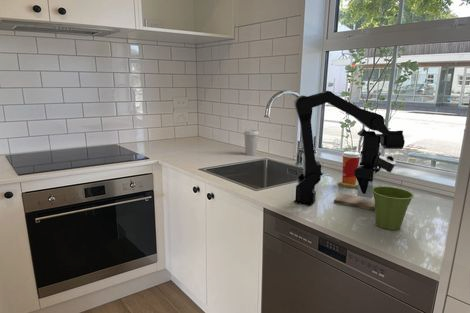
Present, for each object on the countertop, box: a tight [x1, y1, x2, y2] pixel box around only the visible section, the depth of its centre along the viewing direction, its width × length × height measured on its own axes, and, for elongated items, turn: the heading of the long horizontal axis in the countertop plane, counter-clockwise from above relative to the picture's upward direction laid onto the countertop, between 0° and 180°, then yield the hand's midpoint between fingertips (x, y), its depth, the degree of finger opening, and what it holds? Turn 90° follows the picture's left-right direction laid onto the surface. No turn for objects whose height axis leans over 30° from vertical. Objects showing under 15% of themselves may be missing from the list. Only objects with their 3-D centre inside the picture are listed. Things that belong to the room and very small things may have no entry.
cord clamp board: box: [333, 182, 380, 212], centre depth 123 cm, size 18×9×8 cm, turn 58°
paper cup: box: [341, 151, 362, 185], centre depth 147 cm, size 8×8×14 cm
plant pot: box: [372, 185, 415, 231], centre depth 104 cm, size 12×12×11 cm
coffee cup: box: [243, 129, 260, 156], centre depth 206 cm, size 10×10×15 cm
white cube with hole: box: [356, 181, 376, 199], centre depth 122 cm, size 5×5×5 cm
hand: (366, 190), depth 122 cm, fingers open, 9 cm apart
